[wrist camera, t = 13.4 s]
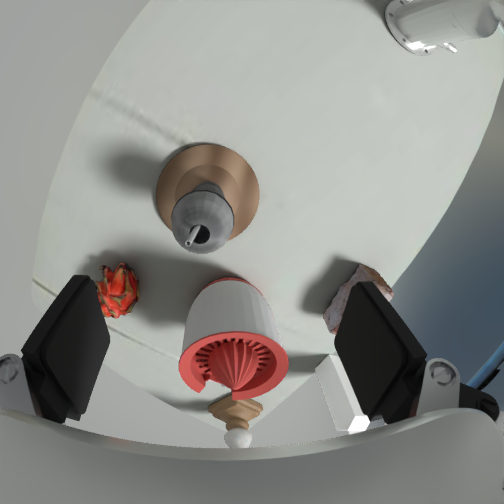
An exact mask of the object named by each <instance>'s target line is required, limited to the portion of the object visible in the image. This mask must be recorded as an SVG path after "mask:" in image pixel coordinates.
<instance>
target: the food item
mask: <svg viewBox="0 0 504 504" xmlns="http://www.w3.org/2000/svg"><path fill="white" fill-rule="evenodd" d="M359 281H372V282H373V283H374V284H375V285H376V286H377V288H378V289H379V290H380V291H381V293H382V294H383V295H384V296H385V298H386V299H387V300H388V302H389V301H390V300H391V299H392V298H393V292H392V289H391V288H390V287H389V285H387V283H386V282H385V281H384V279H383V278H382V277H381V275H380V274H379V273H378V272H377V271H375V270H374V269H371V268H369V267H367V266H365V265H362V264H359V266H358V268H357V270H356V272H355V274H353V276H352V277H351V278H350V280H349V281H348V282H347V283H345V284H342V285H341V286H340V287H339V289H338V291H337V295H336V296H335V297H334V298H333V300H332V304H331V305H330V307H329V308H327V310H326V312H325V313H324V316H323V319H324V320H325V323H326V324H327V327H328V330H329V332H330V333H332V334H335V335H336V334H337V331H338V328H339V325H340V322H341V319H342V316H343V313H344V310H345V307H346V303H347V300H348V297H349V294H350V290H351V288H352V286H354V285H355V284H356V283H357V282H359Z"/></svg>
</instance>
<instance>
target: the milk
mask: <svg viewBox="0 0 504 504" xmlns="http://www.w3.org/2000/svg"><path fill="white" fill-rule="evenodd" d="M315 372H316V374H317V377H318V380H319V383H320V386H321V389H322V391H323V394H324V397H325V400H326V403H327V406H328V408H329V411H330V414H331V417H332V420H333V423H334V426H335V429H336V431H348V432H349V435H350V434H354V433H358V432H362V431H366V428H367V426H368V425H369V423H370V421H369V419H368V417H367V415H364V414H363V412H362V410H361V408H360V405H359V403H358V400H357V398H356V396H355V393H354V391H353V388H352V386H351V384H350V381H349V379H348V376H347V374H346V372H345V369H344V367H343V365H342V362H341V360H340V358H339V357H338V356H334V355H331V354H329V355H328V356H327V357H326V358H325V359H324V360H323V361H322V362H321V363H320V364H319V365H318V366H317V367H316V368H315Z"/></svg>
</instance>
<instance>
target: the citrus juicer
mask: <svg viewBox="0 0 504 504" xmlns="http://www.w3.org/2000/svg"><path fill="white" fill-rule="evenodd" d="M288 364H289V360H288V356H287V354H286V352H285V350H284V349H283V346H282V342H281V338H280V335H279V331H278V327H277V323H276V320H275V317H274V314H273V311H272V310H271V308H270V306H269V304H268V303H267V301H266V299H265V298H264V297H263V295H262V294H261V293H260V291H259V290H258V289H257V288H255V287H254V286H253V285H251V284H250V283H248V282H247V281H244V280H242V279H238V278H231V277H229V278H221V279H217V280H215V281H213V282H211V283H210V284H208V285H207V286H205V287H204V288H203V289H202V290H201V292H200V293H199V294H198V295H197V297H196V299H195V301H194V302H193V304H192V306H191V308H190V311H189V313H188V317H187V321H186V325H185V333H184V340H183V348H182V355H181V357H180V360H179V372H180V375H181V377H182V379H183V380H184V382H185V383H186V384H187V385H188V386H189V387H190V388H191V389H193V390H194V391H196V392H198V393H200V391H201V390H202V389H203V388H204V387H205V382H206V381H208V380H209V381H213V382H218V383H220V384H221V385H222V386H223V387H224V386H226V387H228V388H230V389H231V392H232V400H244V399H249V398H253V397H257V396H260V395H262V394H264V393H266V392H268V391H270V390H271V389H273V388H274V387H276V386H277V385H278V384H279V383H280V382H281V381H282V380H283V378H284V377H285V375H286V373H287V370H288Z"/></svg>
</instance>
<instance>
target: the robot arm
mask: <svg viewBox="0 0 504 504" xmlns="http://www.w3.org/2000/svg"><path fill="white" fill-rule="evenodd" d="M385 17H386V22H387V25H388V27H389V29H390V31H391V33H392V34H393V36H394V37H395V38H396V40H397V41H398V42H399V43H400V44H401V45H402V46H403V47H404V48H406V49H407V50H408V51H410V52H412V53H414V54H417V55H421V56H425V55H430V54H432V53H433V52H434V51H435V50H436V48H437V47H438V46H440V47H442V48H443V47H444V48H446V49H447V50H448V51H450V52H452V53H455V52H456V47H455V46H454V45H453V44H451V42H457V41H464V40H471V39H480V38H487V37H489V36H491V35H492V34H493V33H494V32H495V31H496V29H497V27H498V24H499V21H500V22H501V23H502V25H503V27H504V0H413V1H411V2H409V1H406V0H394V1H392V2H390V3H389V4H388V5H387V7H386V10H385ZM109 344H110V335H109V332H108V329H107V325H106V322H105V319H104V316H103V312H102V309H101V305H100V301H99V298H98V294H97V290H96V286H95V283H94V281H93V280H91V279H90V277H89V276H87V275H74V276H73V277H72V278H71V279H70V280H69V282H68V283H67V284H66V286H65V287H64V288H63V289H62V291H61V292H60V293H59V295H58V296H57V297H56V299H55V300H54V301H53V303H52V304H51V306H50V307H49V308H48V310H47V311H46V313H45V314H44V316H43V317H42V318H41V320H40V322H39V323H38V324H37V326H36V327H35V329H34V330H33V332H32V333H31V335H30V336H29V338H28V340H27V341H26V343H25V344H24V346H23V348H22V349H21V351H22V353H23V357H22V358H20V357H19V356H18V355H15V354H6V355H3V356H1V357H0V504H504V412H503V411H501V412H500V413H499V407H498V404H497V402H496V400H495V399H494V398H493V397H492V396H490V395H489V394H487V393H484V392H482V391H479V390H477V389H474V388H472V387H469V386H467V385H465V384H462V383H460V376H459V373H458V370H457V369H456V368H455V366H454V365H453V364H451V363H450V362H449V361H447V360H445V359H441V358H434V359H432V360H430V361H429V362H428V363H427V362H426V361H425V358H426V357H427V353H426V352H425V351H424V349H423V348H422V346H421V345H420V343H419V342H418V341H417V339H416V338H415V336H414V335H413V334H412V332H411V331H410V330H409V328H408V327H407V325H406V324H405V323H404V321H403V320H402V319H401V317H400V316H399V315H398V313H397V312H396V311H395V309H394V308H393V307H392V305H391V304H390V303H389V302H388V300H387V299H386V298H385V296H384V295H383V294H382V293H381V291H380V290H379V289H378V288H377V286H376V285H375V284H374V283H373V282H372V281H359V282H357V283H356V284H355V285H354V286H352V288H351V290H350V294H349V297H348V300H347V303H346V307H345V310H344V313H343V316H342V319H341V322H340V325H339V328H338V331H337V334H336V336H335V340H334V345H335V348H336V351H337V353H338V355H339V358H340V360H341V362H342V365H343V367H344V369H345V372H346V374H347V376H348V379H349V381H350V384H351V386H352V388H353V391H354V393H355V396H356V398H357V400H358V403H359V405H360V408H361V410H362V412H363V414H364V415H367V417H368V419H369V421H370V422H371V421H374V420H378V419H382V418H383V419H384V421H385V424H384V426H382V427H378V428H374V429H370V430H366V431H362V432H358V433H354V434H350V435H345V436H341V437H336V438H331V439H325V440H319V441H313V442H307V443H299V444H291V445H282V446H271V447H258V448H229V449H228V448H226V449H225V448H222V449H221V448H191V447H177V446H166V445H157V444H149V443H142V442H136V441H129V440H124V439H119V438H113V437H109V436H104V435H100V434H96V433H91V432H88V431H84V430H80V429H76V428H72V427H69V426H66V424H65V420H66V417H67V418H70V419H73V420H77V421H79V420H80V417H81V414H84V413H85V412H86V409H87V406H88V403H89V400H90V396H91V393H92V391H93V388H94V385H95V382H96V379H97V376H98V373H99V371H100V368H101V365H102V362H103V360H104V357H105V355H106V352H107V349H108V347H109Z"/></svg>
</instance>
